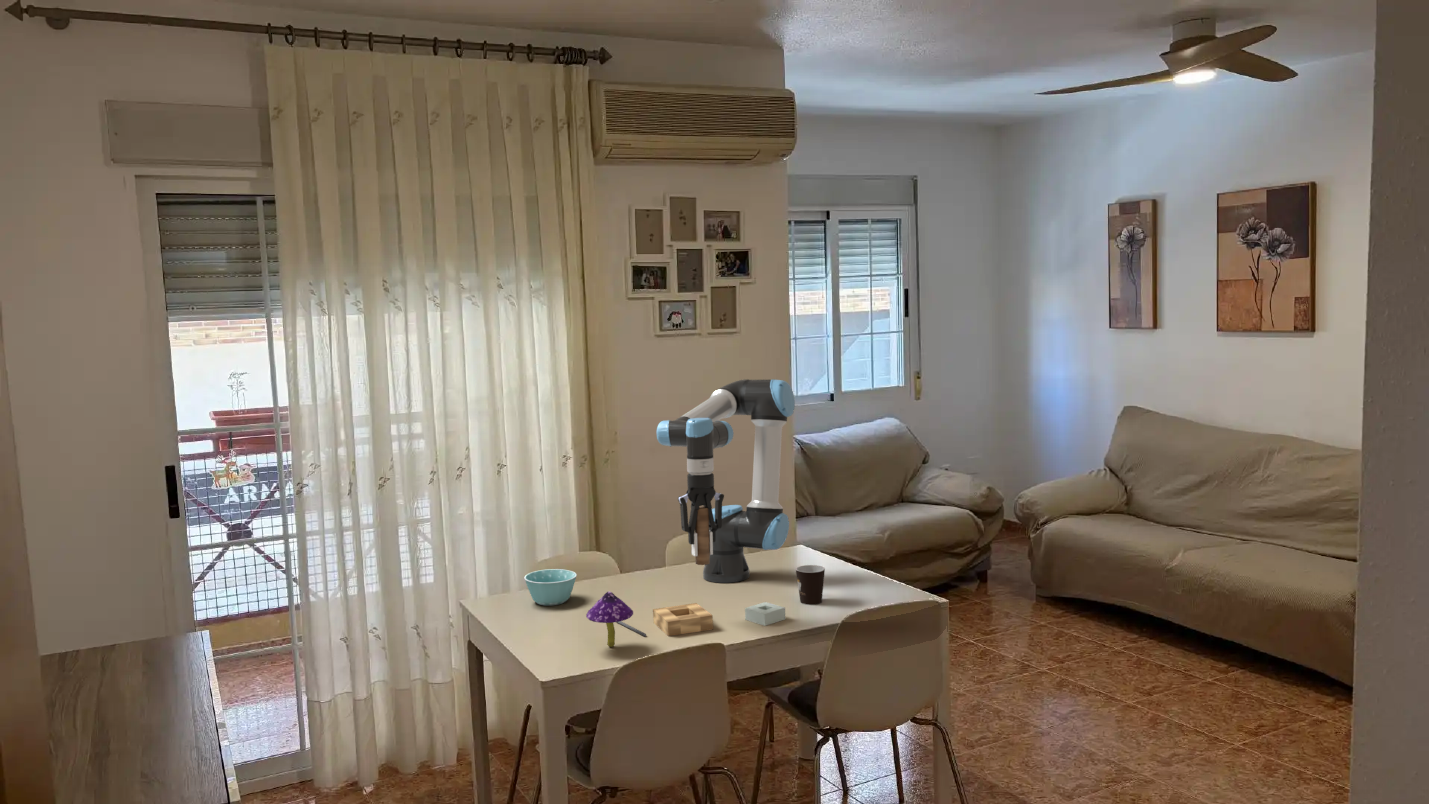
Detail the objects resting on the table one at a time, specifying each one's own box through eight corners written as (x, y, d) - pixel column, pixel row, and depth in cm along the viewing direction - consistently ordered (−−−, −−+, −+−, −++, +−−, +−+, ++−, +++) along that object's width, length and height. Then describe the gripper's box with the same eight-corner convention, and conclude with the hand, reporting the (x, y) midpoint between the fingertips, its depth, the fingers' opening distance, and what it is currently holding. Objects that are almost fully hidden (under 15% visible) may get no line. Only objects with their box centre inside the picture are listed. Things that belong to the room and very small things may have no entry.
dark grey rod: (615, 622, 304) (615, 619, 304) (617, 621, 305) (617, 618, 304) (644, 637, 290) (644, 634, 290) (646, 636, 291) (646, 633, 290)
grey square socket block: (745, 619, 303) (745, 608, 302) (765, 613, 308) (765, 601, 307) (765, 625, 297) (764, 613, 296) (785, 619, 302) (785, 607, 301)
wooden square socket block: (653, 622, 302) (653, 609, 302) (696, 616, 307) (696, 602, 307) (668, 636, 290) (667, 621, 290) (712, 629, 295) (712, 615, 294)
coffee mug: (824, 606, 313) (823, 572, 312) (794, 605, 315) (793, 572, 314) (827, 595, 324) (827, 562, 323) (799, 594, 326) (798, 562, 325)
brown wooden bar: (693, 562, 305) (692, 507, 304) (706, 561, 306) (705, 506, 305) (698, 565, 301) (697, 509, 300) (711, 564, 303) (710, 508, 301)
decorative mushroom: (579, 652, 279) (576, 596, 278) (600, 637, 291) (598, 583, 289) (622, 656, 275) (619, 600, 273) (642, 641, 287) (640, 586, 285)
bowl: (587, 597, 330) (586, 571, 330) (559, 611, 316) (558, 584, 315) (544, 592, 337) (543, 567, 336) (515, 606, 323) (514, 579, 322)
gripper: (676, 476, 295) (678, 560, 297) (733, 472, 301) (735, 554, 303) (667, 473, 302) (669, 554, 304) (723, 469, 308) (725, 548, 310)
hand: (702, 554), depth 304 cm, fingers closed on brown wooden bar, 4 cm apart
